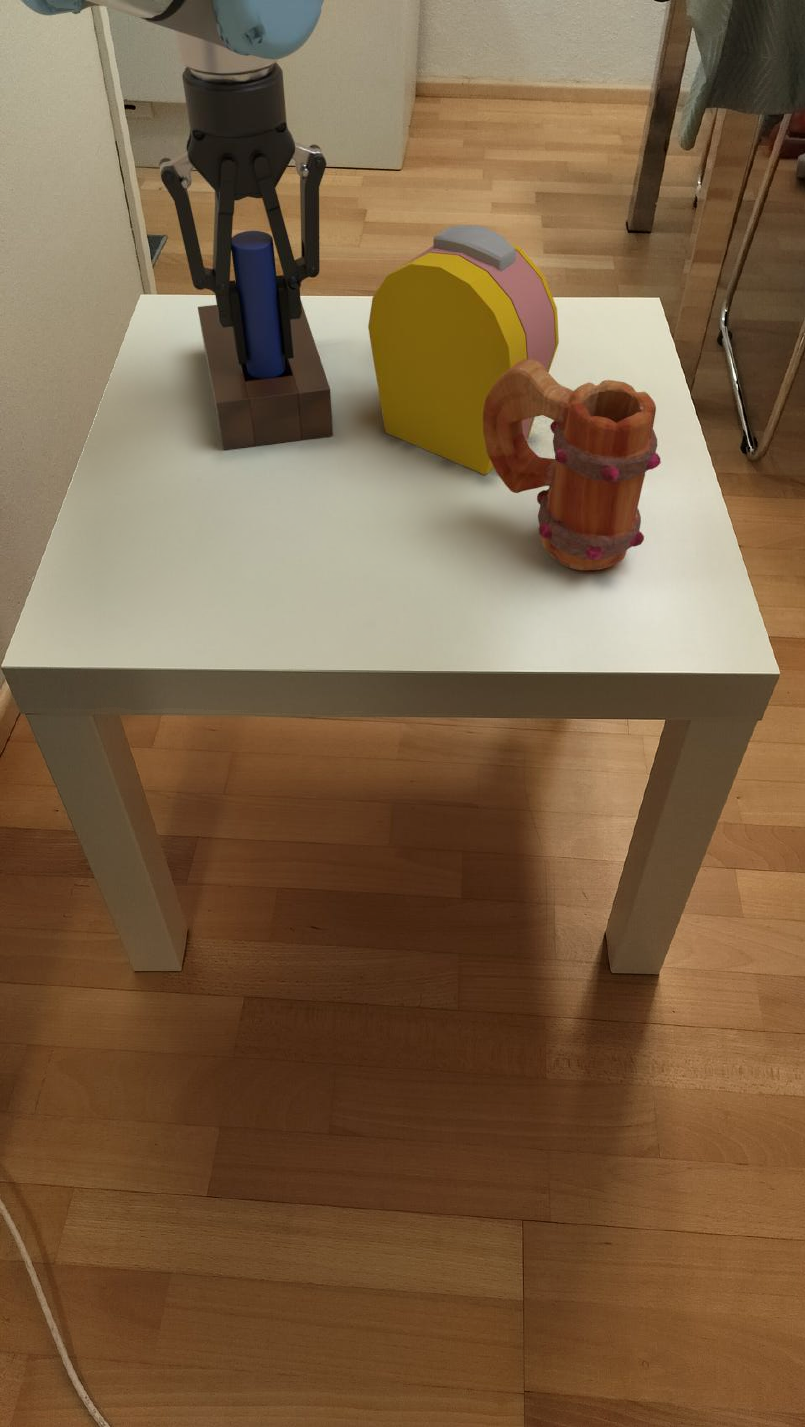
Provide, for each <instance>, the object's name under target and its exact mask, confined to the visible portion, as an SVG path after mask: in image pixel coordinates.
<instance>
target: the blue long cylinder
mask: <svg viewBox="0 0 805 1427" xmlns="http://www.w3.org/2000/svg"><path fill="white" fill-rule="evenodd" d="M274 246H275V245H274V239H273V235H272V234H269V233H267V232H265V231H261V230H245V231H242V232H238V233H236V234H234V235H232V245H231V260H232V264H233V265H232V267H233V273H234V280H235V283H236V288H237V291H238V295H239V302H240V310H241V318H242V326H243V333H244V341H245V349H246V357H247V364H246V365H247V371H248V373H249V374H250V375H251V376H253V377H256V378H260V379H269V378H274V377H277V376H279V375H281V374H282V373H283V372H284V371H285V367H286V366H285V356H284V348H283V338H282V328H281V318H280V307H279V297H278V287H277V276H278V275H277V268H276V258H275V248H274Z"/></svg>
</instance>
